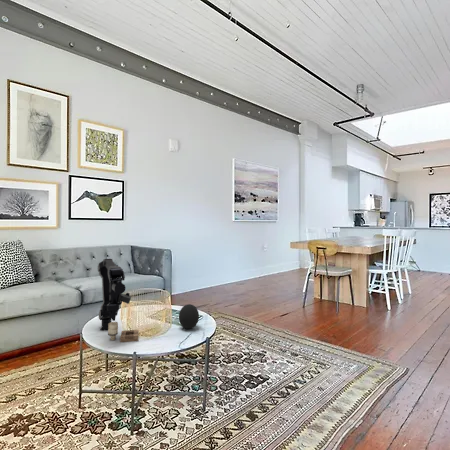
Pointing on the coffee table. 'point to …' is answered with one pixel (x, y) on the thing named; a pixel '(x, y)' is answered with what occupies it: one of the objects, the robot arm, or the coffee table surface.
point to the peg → (113, 329)
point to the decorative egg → (188, 316)
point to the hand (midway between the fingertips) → (114, 318)
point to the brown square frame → (129, 336)
